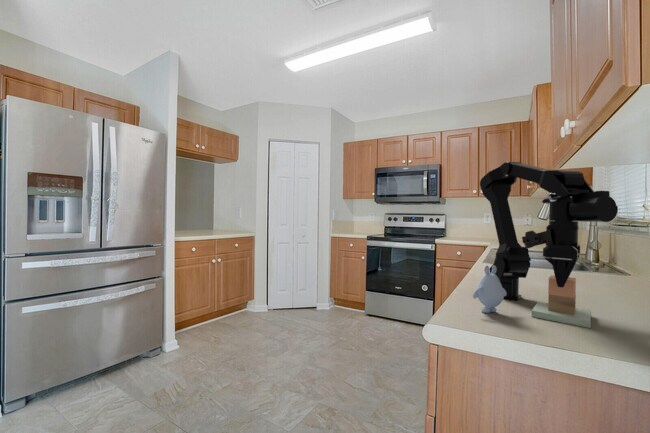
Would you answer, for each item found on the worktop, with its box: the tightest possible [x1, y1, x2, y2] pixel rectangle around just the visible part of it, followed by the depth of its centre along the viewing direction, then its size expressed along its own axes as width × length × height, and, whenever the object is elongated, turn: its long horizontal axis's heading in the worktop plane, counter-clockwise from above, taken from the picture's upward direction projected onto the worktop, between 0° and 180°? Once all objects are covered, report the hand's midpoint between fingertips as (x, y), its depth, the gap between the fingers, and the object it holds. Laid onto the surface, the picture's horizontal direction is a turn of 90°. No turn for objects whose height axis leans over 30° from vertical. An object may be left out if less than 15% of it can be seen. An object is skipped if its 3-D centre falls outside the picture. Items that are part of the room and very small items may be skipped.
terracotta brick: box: [547, 275, 577, 298], centre depth 76 cm, size 5×5×4 cm
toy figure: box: [472, 264, 507, 314], centre depth 79 cm, size 11×6×12 cm, turn 108°
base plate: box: [531, 301, 592, 329], centre depth 76 cm, size 11×11×2 cm
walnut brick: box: [547, 294, 577, 315], centre depth 76 cm, size 5×5×4 cm
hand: (562, 284), depth 76 cm, fingers open, 9 cm apart
